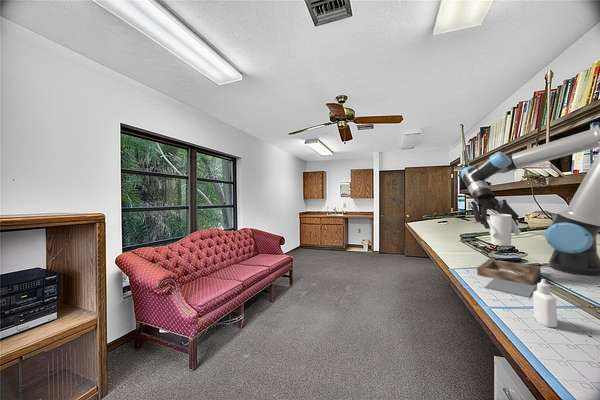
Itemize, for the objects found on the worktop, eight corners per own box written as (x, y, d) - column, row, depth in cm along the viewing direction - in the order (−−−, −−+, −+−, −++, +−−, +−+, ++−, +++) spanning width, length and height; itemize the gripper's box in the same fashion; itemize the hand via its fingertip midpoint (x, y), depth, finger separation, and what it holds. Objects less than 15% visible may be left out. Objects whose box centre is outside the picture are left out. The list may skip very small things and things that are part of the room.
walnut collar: (540, 273, 97) (540, 266, 97) (532, 285, 87) (532, 277, 86) (489, 265, 110) (489, 259, 110) (477, 274, 100) (477, 268, 100)
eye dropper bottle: (556, 320, 65) (554, 278, 64) (557, 329, 61) (555, 284, 60) (534, 315, 68) (532, 274, 67) (533, 324, 64) (531, 280, 64)
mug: (508, 246, 91) (508, 216, 91) (487, 243, 97) (487, 215, 96) (517, 242, 97) (516, 213, 96) (496, 239, 102) (496, 212, 102)
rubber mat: (536, 287, 85) (535, 286, 85) (529, 297, 78) (529, 296, 78) (494, 279, 95) (494, 278, 95) (485, 287, 88) (484, 286, 88)
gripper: (502, 196, 109) (530, 238, 94) (454, 199, 113) (474, 240, 98) (510, 185, 104) (541, 227, 89) (459, 188, 108) (481, 230, 93)
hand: (506, 234), depth 93 cm, fingers closed on mug, 8 cm apart
